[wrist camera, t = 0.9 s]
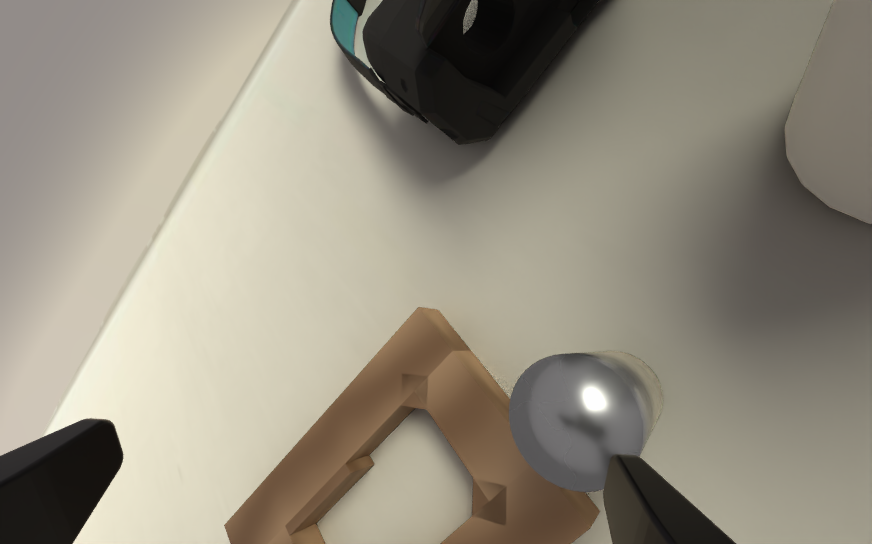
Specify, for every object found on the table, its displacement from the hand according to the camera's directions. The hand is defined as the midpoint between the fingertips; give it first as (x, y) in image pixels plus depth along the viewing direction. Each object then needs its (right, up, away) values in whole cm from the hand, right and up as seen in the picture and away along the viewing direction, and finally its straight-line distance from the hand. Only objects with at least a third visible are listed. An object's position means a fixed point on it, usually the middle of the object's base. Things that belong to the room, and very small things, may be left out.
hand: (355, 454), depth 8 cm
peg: (+9, -2, +11) cm, 14 cm away
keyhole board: (-1, -10, +16) cm, 19 cm away
